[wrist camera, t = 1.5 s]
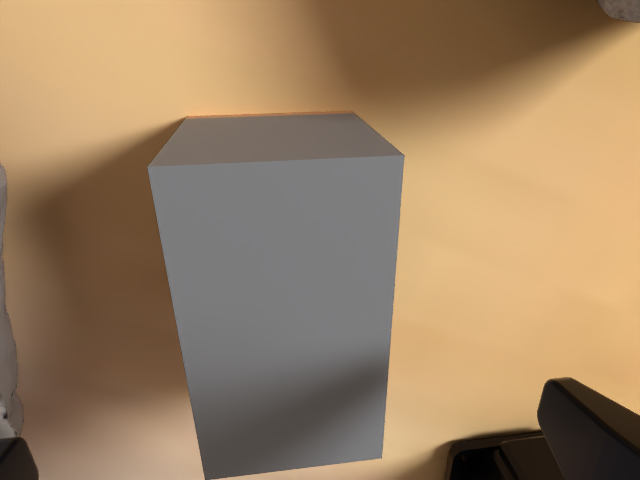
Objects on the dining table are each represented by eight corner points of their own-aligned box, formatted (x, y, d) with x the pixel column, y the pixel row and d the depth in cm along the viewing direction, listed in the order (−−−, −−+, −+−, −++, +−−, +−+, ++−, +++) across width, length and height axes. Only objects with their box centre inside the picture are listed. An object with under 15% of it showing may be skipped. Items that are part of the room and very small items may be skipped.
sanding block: (346, 337, 16) (381, 458, 11) (220, 349, 15) (204, 480, 11) (350, 110, 12) (404, 155, 8) (188, 115, 12) (147, 167, 7)
